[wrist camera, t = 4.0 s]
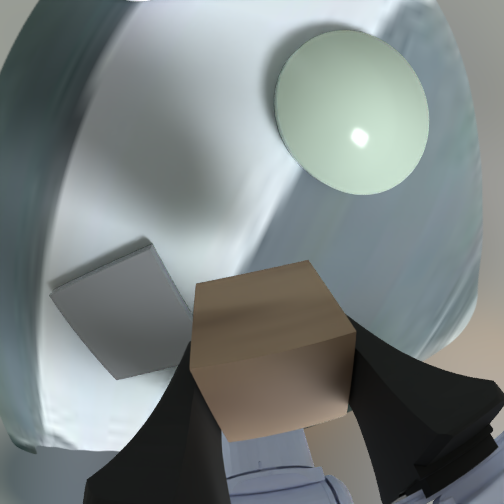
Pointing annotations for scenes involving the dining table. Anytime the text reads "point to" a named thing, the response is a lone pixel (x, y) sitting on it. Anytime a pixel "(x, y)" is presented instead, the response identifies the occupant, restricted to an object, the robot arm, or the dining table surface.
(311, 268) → the walnut block
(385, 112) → the sage dish
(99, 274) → the slate coaster
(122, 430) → the dining table surface
